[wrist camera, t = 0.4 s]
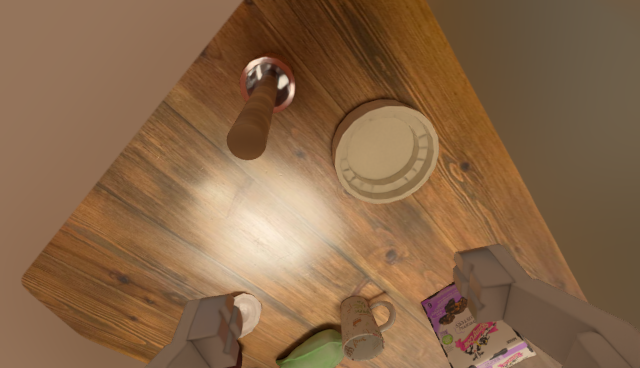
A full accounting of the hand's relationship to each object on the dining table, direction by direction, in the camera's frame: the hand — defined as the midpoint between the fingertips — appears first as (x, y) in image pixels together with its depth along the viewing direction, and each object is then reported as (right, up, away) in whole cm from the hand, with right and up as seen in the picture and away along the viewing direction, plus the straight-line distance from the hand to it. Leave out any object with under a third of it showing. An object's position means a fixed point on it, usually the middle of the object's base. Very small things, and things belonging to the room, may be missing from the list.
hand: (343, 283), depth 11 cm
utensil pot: (-8, +19, +31) cm, 37 cm away
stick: (-8, +18, +30) cm, 36 cm away
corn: (-3, -35, +60) cm, 70 cm away
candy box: (+29, -21, +56) cm, 67 cm away
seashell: (-17, -21, +52) cm, 58 cm away
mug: (+8, -22, +55) cm, 60 cm away
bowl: (+9, +10, +37) cm, 40 cm away
